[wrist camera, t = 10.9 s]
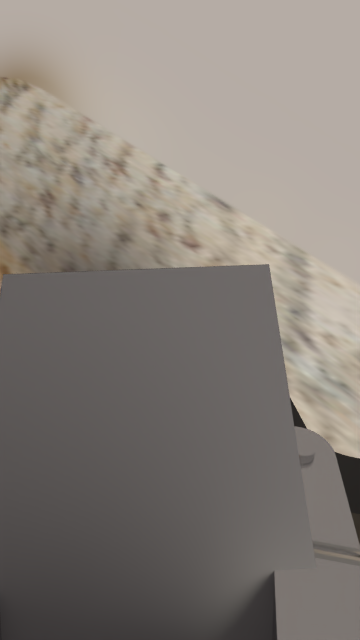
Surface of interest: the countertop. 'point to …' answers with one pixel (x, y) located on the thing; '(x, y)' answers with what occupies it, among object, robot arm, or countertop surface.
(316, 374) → the countertop surface
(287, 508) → the plug
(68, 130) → the countertop surface
